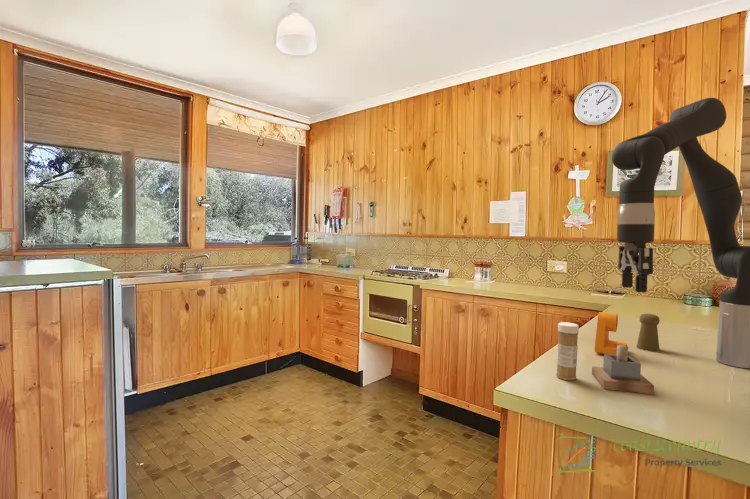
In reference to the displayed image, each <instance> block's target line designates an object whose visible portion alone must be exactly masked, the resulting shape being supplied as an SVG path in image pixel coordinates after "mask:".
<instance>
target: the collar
mask: <svg viewBox="0 0 750 499" xmlns="http://www.w3.org/2000/svg"><path fill="white" fill-rule="evenodd" d="M616 360H617V355H611V354H603V363H602V364H603V365H602V367H603V370H604V371H605V372H606V373H607V375H608V376H609V377H610V378H614V379H624V380H633V381H640V374H641V373H642V371H641V370H642V369H641V368H642V363H641V362H639V361H638V360H637V359H635V358H634V357H633V356H631V355H628V359H627V361H616Z"/></svg>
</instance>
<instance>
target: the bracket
mask: <svg viewBox="0 0 750 499" xmlns="http://www.w3.org/2000/svg"><path fill="white" fill-rule="evenodd" d="M618 323H619V314H618V313H612V312H611V313H610V312H603V311H599V312H598V314H597V323H596V325H597V326H596V332H595V343H594V353H597V354H598V353H599V354H602V355H604V354H611V355H617V345H624V346H627V347H628V342H625V341H619V340H613V339H610V338H609V337H610V335H609V332H612V333H617V330H618Z"/></svg>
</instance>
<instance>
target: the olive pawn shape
mask: <svg viewBox="0 0 750 499" xmlns="http://www.w3.org/2000/svg"><path fill="white" fill-rule="evenodd" d="M660 320H661V319H660V317H659V316H658V315H656V314H653V313H641V314H640V315H639V323H641V324H640V329H639V333H638V338H637V343H636V348H637V349H639V350H641V349H643V351H646V350H647V352H660V342H659V340H660V339H659V333H658V332H659V331H658V325H659V324H660Z"/></svg>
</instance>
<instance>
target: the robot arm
mask: <svg viewBox="0 0 750 499" xmlns="http://www.w3.org/2000/svg"><path fill="white" fill-rule="evenodd" d="M726 120H727V111H726V107H725V105H724V103H723V102H722V101H721V100H720V99H718V98H717V97H706V98H703V99H700V100H697V101H694V102H692V103H689V104H686V105H683V106H681V107H679V108H676V109H675V110H673V111H672V112H671V114H670V115H669V121H668V122H665V123H663V124H660V125H658V126H656V127H654V128H652V129H650V130H648V131H647V132H645V133H644V134H641V135H637V136H634V137H631V138H629V139H625V140H623V141H621V142H619V143H618V144H617V145H616V146H615V147H614V149H613V151H612V154H611V162H612V164H613V166H614V167H615V168H617V169H619V170H620V171H632V170H633V171H634V170H638V172H637V174H636V175H635V176H634V177H631V178H628V179H626V180H623V181H622V182H620V185H619V196H618V199H619V200H618V201H619V202H618V209H617V220H616V221H617V226H616V230H617V231H616V232H617V233H616V241H617V242H618V243H624V245H619V247H618V266H617V268H618V270H620V272H621V287H623V288H632V287H633V283H634V287H635V288H634V291H635V292H637V293H646V292H648V277H649V276H650V275H653V274H654V250H653V249H654V248H653V247H647V243H648V244H649V243H651V244H652V243H653V242H654V241H655V225H656V224H655V222H656V221H655V218H656V217H655V216H656V214H655V213H656V212H655V186H656V182H657V179H658V176H659V173H660V170H661V168H662V165H663V162H664V157H665V155H666V154H669V153H670V152H672V151H674V150H675V149H677V148H678V149H679V151H680V153H681V155H682V158H683V160H684V163H685V164H686V165H685V166H686V168H687V170H688V174H689V177H690V179H691V183H692V186H693V190H694V194H695V197H696V200H697V203H698V205H699V208H700V211H701V213H702V217H703V220H704V224H705V228H706V231H707V235H708V239H709V245H710V249H711V251H710V252H711V255H712V260H713V264H714V267H715V269H716V271H717V272H718V273H719V274H721V275H722V276H723V277H727V278H732V279H736V283H735V286H733V287H732V288H729V289H725V290H722V291H721V292H720V294H719V305H718V306H719V309H718V322H717V323H718V324H717V343H716V352H715V354H716V358H715V359H716V361H717V362H719V363H721V364H724V365H728V366H731V367H735V368H736V367H737V368H742V369H743V368H744V369H750V246H749V245H740V242H739V241H738V238H737V234H736V229H735V225H736V224H735V223H736V221H737V217H738V215H739V213H740V210H741V207H742V202H743V196H742V192H741V189H740V186H739V183H738V180H737V177H736V175H735V174H734V173H733V172H732V171H731V170H730V169H729V168H727V167H726V166H725V165H723V164H722V163H721V162H719V161H717V160H715V159H714V158H713V157H711V155H709V154H708V153H707V152H706V151H705V150H704V148H703V146H701V143H700V142H699V140H698V137H701V136H705V135H708V134H710V133H714V132H715V131H718V130H719V129H721V128H722V127H723V126H724V125H725V122H726ZM633 272H634V273H635V278H634V273H633ZM634 279H635V282H633V281H634Z"/></svg>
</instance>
